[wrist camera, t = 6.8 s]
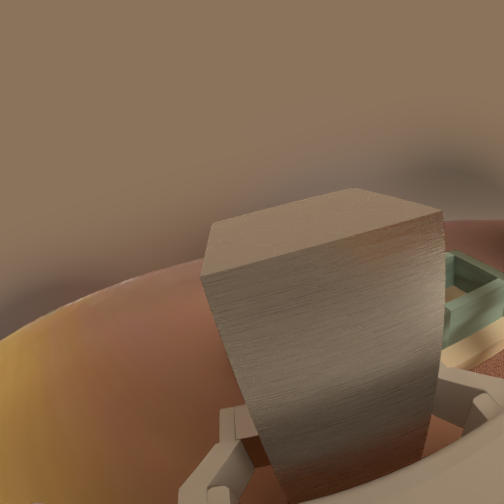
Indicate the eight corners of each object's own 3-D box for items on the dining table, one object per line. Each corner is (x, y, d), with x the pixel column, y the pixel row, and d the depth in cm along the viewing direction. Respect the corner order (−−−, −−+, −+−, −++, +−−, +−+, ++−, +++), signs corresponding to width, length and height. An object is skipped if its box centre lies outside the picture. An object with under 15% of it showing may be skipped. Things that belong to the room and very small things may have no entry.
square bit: (309, 545, 9) (200, 276, 5) (294, 478, 13) (212, 223, 9) (401, 514, 9) (442, 210, 5) (373, 453, 13) (353, 187, 9)
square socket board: (425, 393, 16) (430, 343, 15) (360, 313, 27) (355, 272, 26) (535, 325, 16) (544, 278, 15) (457, 276, 28) (457, 238, 26)
